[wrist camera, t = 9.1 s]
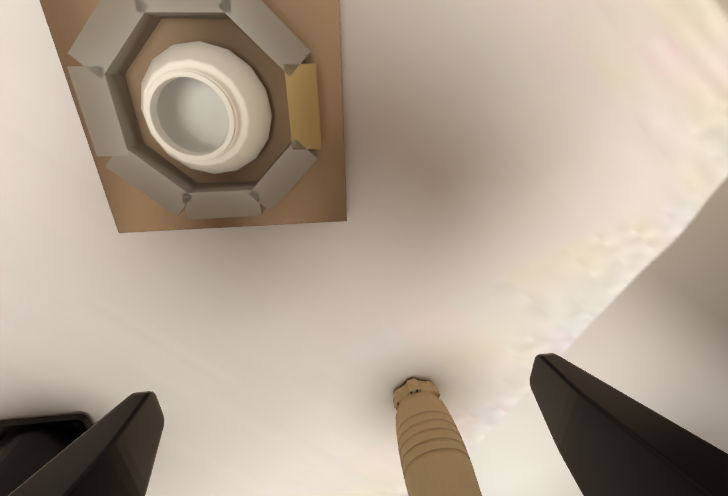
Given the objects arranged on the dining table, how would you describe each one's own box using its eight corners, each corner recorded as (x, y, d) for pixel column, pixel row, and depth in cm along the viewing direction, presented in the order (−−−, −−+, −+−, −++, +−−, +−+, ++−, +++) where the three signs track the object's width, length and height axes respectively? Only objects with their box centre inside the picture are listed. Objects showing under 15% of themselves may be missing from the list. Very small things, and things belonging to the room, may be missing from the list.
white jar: (183, 14, 14) (129, 123, 15) (151, -1, 11) (89, 133, 13) (294, 98, 15) (236, 189, 17) (288, 103, 13) (221, 210, 14)
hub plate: (130, 223, 18) (101, 246, 16) (43, -48, 13) (-17, -75, 11) (345, 213, 19) (348, 232, 17) (335, -43, 14) (338, -67, 12)
